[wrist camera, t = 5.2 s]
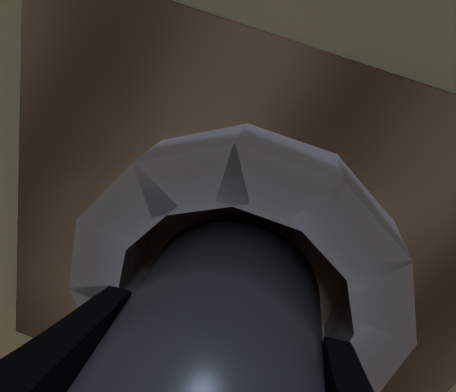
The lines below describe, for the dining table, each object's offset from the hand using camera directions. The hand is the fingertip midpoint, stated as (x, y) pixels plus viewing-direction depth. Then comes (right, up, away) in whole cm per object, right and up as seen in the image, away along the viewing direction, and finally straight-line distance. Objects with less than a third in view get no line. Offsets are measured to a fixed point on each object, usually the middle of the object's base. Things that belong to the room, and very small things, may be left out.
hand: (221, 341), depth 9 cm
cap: (0, +1, +2) cm, 2 cm away
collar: (+1, +2, +4) cm, 4 cm away
